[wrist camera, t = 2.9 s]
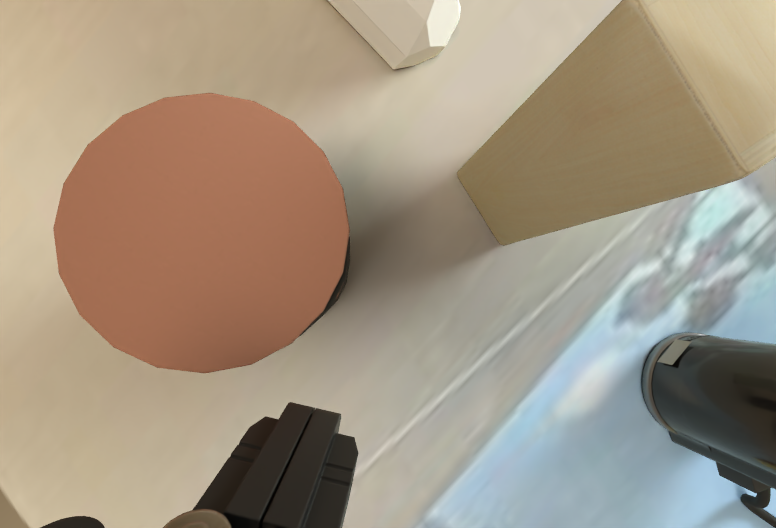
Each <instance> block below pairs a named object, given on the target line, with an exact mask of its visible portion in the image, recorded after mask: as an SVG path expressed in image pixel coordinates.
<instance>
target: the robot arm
mask: <svg viewBox="0 0 776 528" xmlns="http://www.w3.org/2000/svg"><path fill="white" fill-rule="evenodd" d="M642 388H643V395H644V399H645V402H646V405H647V407H648V409H649V411H650V413H651V414H652V416H653V417H654V418H655V420H656V421H657V422H658V423H659V424H660V425H661V426H663V427H664V428H665V429H667V430H668V431H669V432H670V435H671V438H672V441H673V442H675V443H677V444H679V445H681V446H683V447H686V448H688V449H690V450H692V451H694V452H696V453H699V454H701V455H703V456H705V457H707V458H709V459H711V460H714V461H716V464H717V468H718V472H719V475H720V476H722V477H724V478H726V479H728V480H730V481H732V482H734V483H736V484H738V485H740V486H742V487H744V488H746V489H748V490H750V491H752V492H754V493H757V496H756V497H753V496H751V495H748V494H744V495H742V496H741V500H742V502H743V504H744V505H745V506H746V507H747V508H748V509H749V510H751V511H752V512H753V513H755V514H756V515H757V516H759V517H760V518H762V519H763V520H765V521H766V522H768V523H769V524H770V525H772V526H773V527H775V528H776V518H775V517H774V516H772V515H771V514H770V513H768V512H767V511H765V510H764V509H762V508H765V507H767V506H768V504H769V501H770V488H774V489H776V344H770V343H762V342H754V341H746V340H738V339H730V338H722V337H717V336H710V335H705V334H698V333H690V332H685V333H678V334H674V335H671V336H669V337H667V338H666V339H664V340H663V341H661V342H660V343H659V344H658V345H657V346H656V347H655V348H654V349H653V350H652V352H651V353H650V355H649V357H648V359H647V361H646V364H645V367H644V371H643V377H642ZM340 420H341V414H339V413H335V412H330V411H326V410H322V409H318V408H316V409H315V408H313V407H309V406H304V405H300V404H296V403H291V402H290V403H288V405H287V406H286V408H285V410H284V411H283V413H282V415H281V416H280V418H279V420H278V419H274V418H269V417H264V418H263V419H261V420H260V421H258V422H257V423H255V424H254V425H252V426H251V427H250V428H249V429H248V431H247V432H246V434H245V435H244V436H243V438H242V439H241V441H240V443H239V445H237V447H236V448H235V450H234V451H233V452H232V454H231V457H230V458H228V460H227V461H226V463H225V464H224V465H223V467H222V468H221V470H220V471H219V473H218V474H217V476H216V477H215V479H214V480H213V481H212V483H211V484H210V486H209V487H208V489H207V490H206V492H205V493H204V495H203V496H202V497H201V499H200V500H199V502H198V503H197V505H196V506H195V507H194V509H193V510H192V511H189V512H186V513H183V514H181V515H179V516H177V517H176V518H174V519H173V520H171V521H170V522H169V523H167V524H166V525H165V526H164V527H163V528H342V526H343V521H344V517H345V513H346V509H347V505H348V500H349V496H350V491H351V486H352V481H353V476H354V471H355V467H356V462H357V457H358V450H357V446H356V442H355V438H354V437H350V436H346V435H342V434H338V431H339V426H340ZM41 528H105V527H104V525H103V524H102V523H101V522H100V521H98V520H97V519H95V518H91V517H86V516H75V517H69V518H65V519H61V520H58V521H55V522H52V523H50V524H48V525H45V526H43V527H41Z"/></svg>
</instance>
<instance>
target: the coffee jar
mask: <svg viewBox="0 0 776 528" xmlns="http://www.w3.org/2000/svg"><path fill="white" fill-rule="evenodd" d="M349 232H350V229H349V223H348V216H347V210H346V204H345V198H344V192H343V188H342V186H341V184H340V182H339V180H338V178H337V177H336V175H335V173H334V171H333V169H332V167H331V165H330V163H329V161H328V159H327V157H326V155H325V153H324V152H323V151H322V150H321V149H320V148H319V147H318V146H317V145H316V144H315V143H314V142H313V141H312V140H311V139H310V138H309V137H308V136H307V135H306V134H305V133H304V132H303V131H302V130H301V129H300V128H299V127H298V126H297V125H296V124H295V123H294V122H293V121H291V120H289V119H287V118H285V117H283V116H281V115H279V114H277V113H275V112H274V111H272V110H270V109H268V108H266V107H264V106H262V105H260V104H258V103H256V102H254V101H250V100H245V99H239V98H234V97H229V96H224V95H218V94H213V93H205V94H195V95H186V96H176V97H167V98H163V99H161V100H158V101H156V102H153V103H151V104H149V105H146V106H144V107H142V108H139V109H137V110H134V111H132V112H130V113H127V114H125V115H123V116H121V117H120V118H119V119H118V120H117V121H116V122H114V123H113V124H112V125H111V126H110V127H108V128H107V129H106V130H105V131H104V132H102V133H101V134H100V135H99V136H98V137H97V138H95V139H94V140H93V141H92V142H91V143H89V144H88V145H87V147H86V148H85V150H84V152H83V153H82V155H81V157H80V158H79V160H78V161H77V163H76V165H75V166H74V168H73V169H72V171H71V173H70V174H69V176H68V178H67V179H66V181H65V182H64V184H63V189H62V193H61V198H60V202H59V206H58V211H57V215H56V220H55V224H54V236H55V245H56V253H57V261H58V269H59V275H60V277H61V279H62V281H63V282H64V284H65V286H66V288H67V290H68V292H69V294H70V296H71V298H72V300H73V302H74V304H75V306H76V308H77V310H78V312H79V314H80V315H81V316H82V317H83V318H84V319H85V320H86V321H87V322H88V323H89V324H90V325H91V326H92V327H93V328H94V329H95V330H96V331H97V332H98V333H99V334H100V335H101V336H102V337H104V338H105V339H106V340H107V341H108V342H109V343H110V344H111V345H112V346H113V347H114V348H117V349H119V350H121V351H123V352H125V353H127V354H129V355H132V356H134V357H136V358H138V359H140V360H142V361H144V362H147V363H149V364H151V365H153V366H155V367H158V368H166V369H174V370H182V371H191V372H199V373H209V372H214V371H219V370H225V369H230V368H236V367H241V366H246V365H251V364H253V363H255V362H257V361H259V360H261V359H263V358H265V357H266V356H268V355H270V354H272V353H274V352H276V351H278V350H280V349H282V348H283V347H285V346H287V345H289V344H291V343H292V342H293V341H294V340H295V339H296V338H297V337H299V336H301V335H302V334H303V333H304V332H305V331H306V330H307V329H308V328H309V327H311V326H312V325H313V324H314V323H315V322H316V321H317V320H318V319H319V318H320V317H321V316H323V315H324V314H325V313H326V312H327V311H328V310H329V309H330V307H331V306H332V305H333V304H334V303H335V302H336V301H337V300H338V298H339V296H340V294H341V292H342V290H343V288H344V286H345V284H346V282H347V275H348V269H349V262H350V237H349Z"/></svg>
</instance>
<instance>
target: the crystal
mask: <svg viewBox="0 0 776 528" xmlns="http://www.w3.org/2000/svg"><path fill="white" fill-rule="evenodd" d="M328 1H329V2H330V3H331V4H332V5H333V6H334V8H335V9H336V10H337V11H338V12H339V13H340V14H341V15H342V16H343V17H344V18H345V19H346V20H347V21H348V22H349V23H350V24H351V25H352V26H353V27H354V29H355V30H356V31H357V32H358V33H359V34H360V35H361V36H362V37H363V38H364V39H365V40H366V41H367V42H368V43H369V44H370V45H371V46H372V47H373V48H374V50H375V51H376V52H377V53H378V54H379V55H380V56H381V57H382V58H383V59H384V60H385V61H386V62H387V63H388V64H389V65H390V66H391V67H392V68H393V69H398V68H404V67H409V66H415V65H417V64H419V63H422V62H424V61H426V60H428V59H431V58H433V57H435V56H437V55H438V54H439V53H440V52H441V51H442V50H443V49H444V48H445V46H446V45H447V43H448V41H449V39H450V37H451V35H452V33H453V32H454V30H455V28H456V26H457V24H458V22H459V18H460V12H461V7H460V3H459V0H328Z"/></svg>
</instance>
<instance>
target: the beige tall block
mask: <svg viewBox="0 0 776 528" xmlns="http://www.w3.org/2000/svg"><path fill="white" fill-rule="evenodd" d="M775 157H776V0H622V1H621V2H620V3H619V4H618V5H617V6H616V7H615V8H614V9H613V10H612V11H611V12H610V14H609V15H608V16H607V17H606V18H605V19H604V20H603V21H602V22H601V23H600V24H599V25H598V26H597V27H596V28H595V29H594V30H593V31H592V32H591V33H590V34H589V35H588V36H587V37H586V39H585V40H584V41H583V42H582V43H581V44H580V45H579V46H578V47H577V48H576V49H575V50H574V51H573V52H572V53H571V54H570V55H569V56H568V57H567V58H566V59H565V60H564V61H563V62H562V63H561V64H560V65H559V66H558V68H557V69H556V70H555V71H554V72H553V73H552V74H551V75H550V76H549V77H548V78H547V79H546V80H545V81H544V82H543V83H542V84H541V85H540V86H539V87H538V89H537V90H536V91H535V92H534V93H533V94H532V95H531V96H530V97H529V98H528V99H527V100H526V101H525V102H524V103H523V104H522V105H521V106H520V107H519V108H518V109H517V110H516V111H515V112H514V114H513V115H512V116H511V117H510V118H509V119H508V120H507V121H506V122H505V123H504V124H503V125H502V126H501V127H500V128H499V129H498V130H497V131H496V132H495V133H494V134H493V135H492V136H491V137H490V138H489V139H488V141H487V142H486V143H485V144H484V145H483V146H482V147H481V148H480V149H479V150H478V151H477V152H476V153H475V154H474V155H473V156H472V157H471V158H470V159H469V160H468V161H467V162H466V163H465V164H464V165H463V167H462V168H461V169H460V170H459V171H458V172H457V175H458V178H459V180H460V181H461V183H462V185H463V186H464V188H465V189H466V191H467V193H468V194H469V196H470V198H471V199H472V201H473V202H474V204H475V206H476V207H477V209H478V210H479V212H480V214H481V215H482V217H483V218H484V220H485V222H486V223H487V225H488V227H489V228H490V230H491V231H492V233H493V235H494V236H495V238H496V239H497V241H498V242H499V243H500V244H501V245H507V244H511V243H514V242H518V241H522V240H525V239H529V238H533V237H536V236H540V235H544V234H547V233H550V232H554V231H558V230H561V229H565V228H569V227H572V226H576V225H579V224H583V223H586V222H590V221H594V220H597V219H601V218H605V217H608V216H612V215H616V214H619V213H623V212H627V211H630V210H634V209H637V208H641V207H645V206H648V205H652V204H656V203H659V202H663V201H667V200H670V199H674V198H677V197H681V196H684V195H688V194H691V193H695V192H699V191H703V190H706V189H710V188H713V187H717V186H720V185H724V184H727V183H730V182H733V181H737V180H739V179H741V178H744V177H746V176H748V175H749V174H751V173H752V172H754V171H756V170H757V169H759V168H760V167H762V166H763V165H765V164H766V163H768V162H769V161H771V160H772V159H773V158H775Z"/></svg>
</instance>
